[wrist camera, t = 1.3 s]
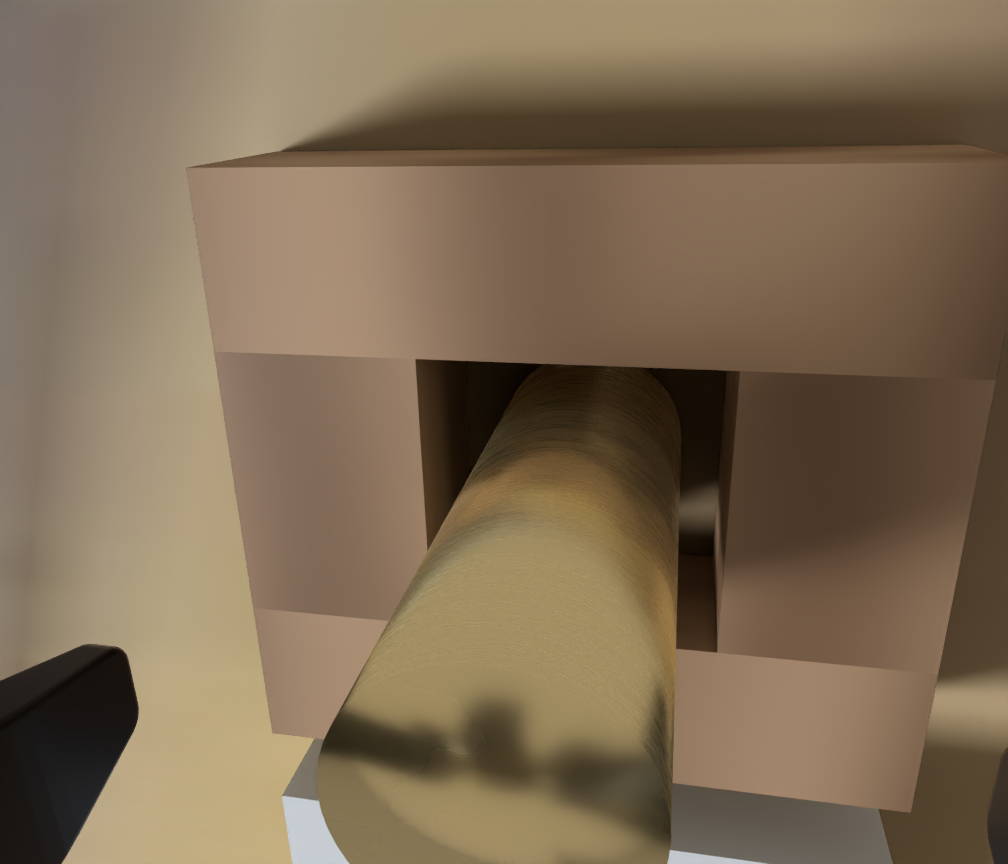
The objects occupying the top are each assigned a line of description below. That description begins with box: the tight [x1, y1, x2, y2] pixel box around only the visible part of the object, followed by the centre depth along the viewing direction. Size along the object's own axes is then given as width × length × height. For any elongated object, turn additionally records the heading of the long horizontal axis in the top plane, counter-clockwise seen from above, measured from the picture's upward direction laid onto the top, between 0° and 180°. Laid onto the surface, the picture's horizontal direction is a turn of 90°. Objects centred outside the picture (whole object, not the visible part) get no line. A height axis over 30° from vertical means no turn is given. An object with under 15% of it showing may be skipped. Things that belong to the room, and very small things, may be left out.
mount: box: [186, 145, 1008, 813], centre depth 15 cm, size 11×10×3 cm
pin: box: [316, 364, 681, 864], centre depth 12 cm, size 3×3×9 cm
